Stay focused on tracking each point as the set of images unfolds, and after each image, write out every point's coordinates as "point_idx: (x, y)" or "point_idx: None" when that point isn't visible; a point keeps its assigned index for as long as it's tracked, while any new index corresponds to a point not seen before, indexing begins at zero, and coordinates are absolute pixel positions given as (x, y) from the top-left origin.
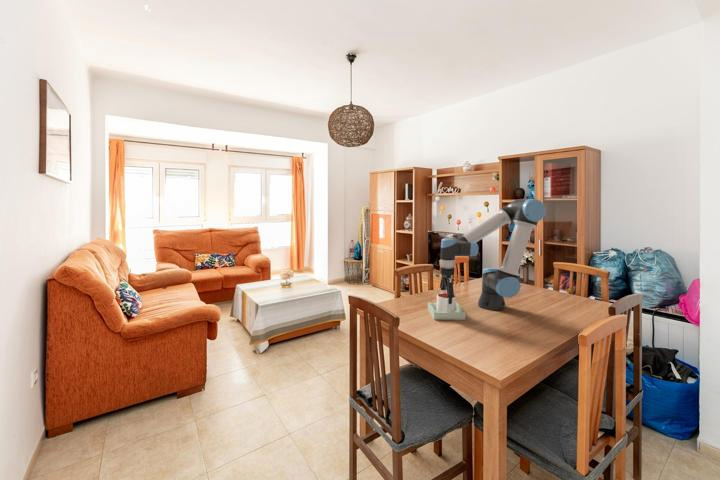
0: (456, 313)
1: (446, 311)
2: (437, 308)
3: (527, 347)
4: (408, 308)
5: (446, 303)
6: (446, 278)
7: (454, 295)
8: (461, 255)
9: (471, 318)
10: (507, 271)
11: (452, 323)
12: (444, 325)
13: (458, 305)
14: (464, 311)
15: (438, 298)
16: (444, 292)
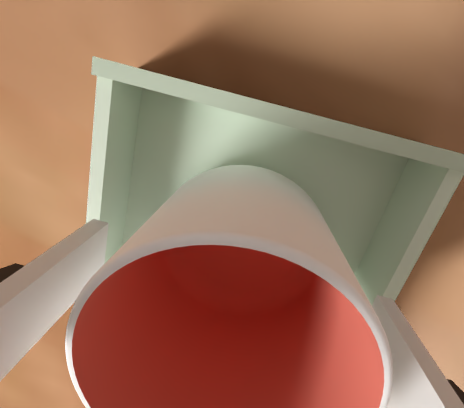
0: (415, 248)
1: (319, 299)
2: (235, 340)
3: None
4: (75, 392)
5: (338, 372)
6: None
7: (228, 244)
8: None
9: (409, 51)
10: None
11: (437, 285)
12: (443, 350)
13: (224, 107)
14: (461, 166)
15: None
16: (16, 315)
